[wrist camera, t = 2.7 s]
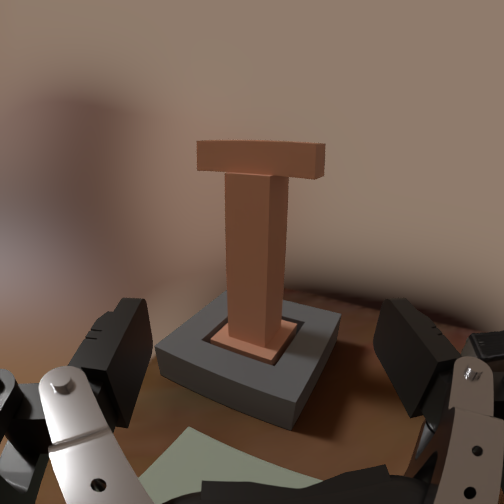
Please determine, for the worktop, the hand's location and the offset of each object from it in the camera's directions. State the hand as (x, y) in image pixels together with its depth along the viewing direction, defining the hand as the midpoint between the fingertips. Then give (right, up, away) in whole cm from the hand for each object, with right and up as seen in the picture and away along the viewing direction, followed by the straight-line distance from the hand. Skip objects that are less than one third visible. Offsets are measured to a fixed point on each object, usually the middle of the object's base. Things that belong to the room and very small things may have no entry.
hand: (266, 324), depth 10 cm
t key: (0, -7, +15) cm, 16 cm away
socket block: (0, -7, +15) cm, 16 cm away
